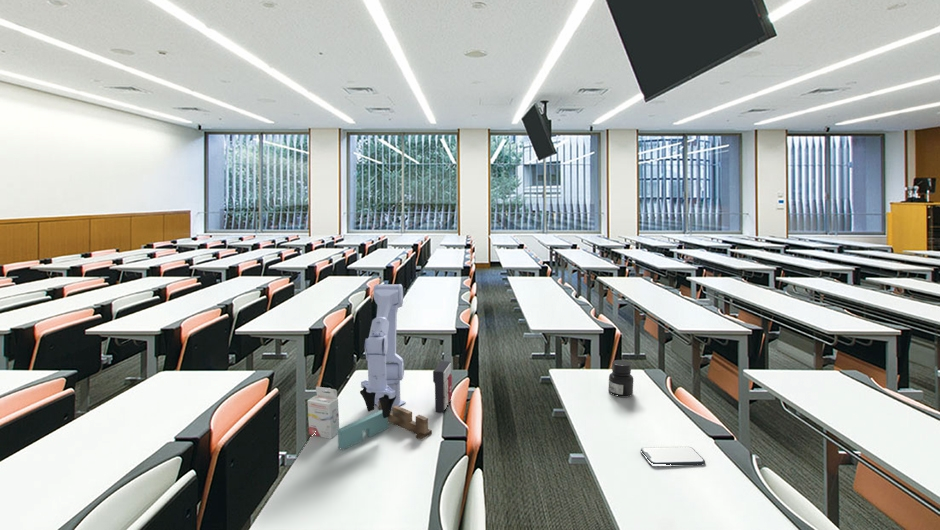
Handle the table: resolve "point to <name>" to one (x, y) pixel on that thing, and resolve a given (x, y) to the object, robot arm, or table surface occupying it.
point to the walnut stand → (408, 421)
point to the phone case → (673, 455)
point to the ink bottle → (621, 378)
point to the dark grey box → (442, 385)
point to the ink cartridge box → (323, 413)
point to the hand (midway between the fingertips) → (378, 413)
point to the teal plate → (361, 429)
